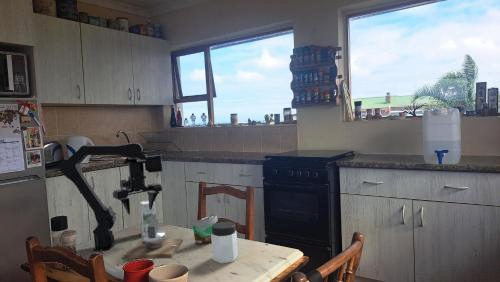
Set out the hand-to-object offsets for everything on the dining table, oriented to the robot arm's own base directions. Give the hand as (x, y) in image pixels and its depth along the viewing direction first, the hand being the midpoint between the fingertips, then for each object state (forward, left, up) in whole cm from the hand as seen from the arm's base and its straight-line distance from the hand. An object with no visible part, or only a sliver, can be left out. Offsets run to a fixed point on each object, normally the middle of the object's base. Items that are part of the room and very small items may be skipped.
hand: (139, 211), depth 149 cm
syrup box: (-1, +12, -13) cm, 18 cm away
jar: (+37, -19, -13) cm, 44 cm away
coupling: (+8, -8, -9) cm, 15 cm away
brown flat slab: (+8, -8, -13) cm, 17 cm away
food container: (+28, -1, -13) cm, 31 cm away
